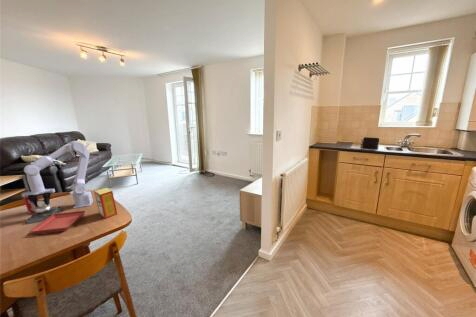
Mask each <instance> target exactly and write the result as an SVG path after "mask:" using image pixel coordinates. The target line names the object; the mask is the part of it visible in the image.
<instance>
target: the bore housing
mask: <svg viewBox="0 0 476 317" xmlns="http://www.w3.org/2000/svg"><path fill="white" fill-rule="evenodd" d="M62 211H64V210H63V207H62V206H60V205H59V206H57V207H52V209H51V210H49V211H47V212H43V213H37V212H36V213H32V215H31V216H30V217H28V218H27V219H26V224H27V225H28V224H34V223H38V222H39V223H41V222H43V221H44V220H46V219H47V218H49V217H50V216H52V215H53V214H58V213H62Z"/></svg>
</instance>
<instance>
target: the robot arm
mask: <svg viewBox="0 0 476 317" xmlns="http://www.w3.org/2000/svg"><path fill="white" fill-rule="evenodd" d="M70 152H75V153H77V154H78V155H79V160H78V163H77V168H76V172H75V178H74V180H73V182H72V184H70V189H71V191H73V192H72V197H73V200H74V204H75V205H74V206H73V207H72V208H73V209H78V208H84V207H88V206H91V205H92V204H93V202H94V198H93V196H92V192H91V191H90V190H89V191H86V190H87V189H86V188H87V187H86V181H85V179H86V175H87V170H88V169H87V168H88V164H89V160H90V154H91V153H90V152H89V150H88V148H87V146H86V145H85V144H84V143H83V142H81V141H78V140H72V141H70V142H68V143H66V144H64V145H63V146H61V147H59V148H58V149H57V150H55V151H54V152H52V153H51V154H48V155H43V156H42V155H41V156H39V157H38V159H36V160H35V161H33V162H30V164H27V165H25V166H24V168H23V172H24V173H25V175H26V176H25V177H26V179H27V183H28V185H29V189H30V191H27V192H22V193H21V197H22V198H24V197H25V196H28V198H27V199H29V200H30V201H31V202H33V204H34V205H35V206H36V207H38V205H37V202H36V201H37V200H38V198H39V197H38V198H37V195H41V197H42V198H44V200H45V202H46V205H48V204H50V205H51V203H50V199H51V195H52V194H54V193H55V192H56V190H55V188H45V185H44V182H43V179H42V178H43V177H42V176H41V174H40V171H43V169H46V168H47V167H49V166H50V165H52V164H54V160H55V159H57V158H58V157H59V158H60V156H62V155H65V154H66V153H70Z"/></svg>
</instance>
